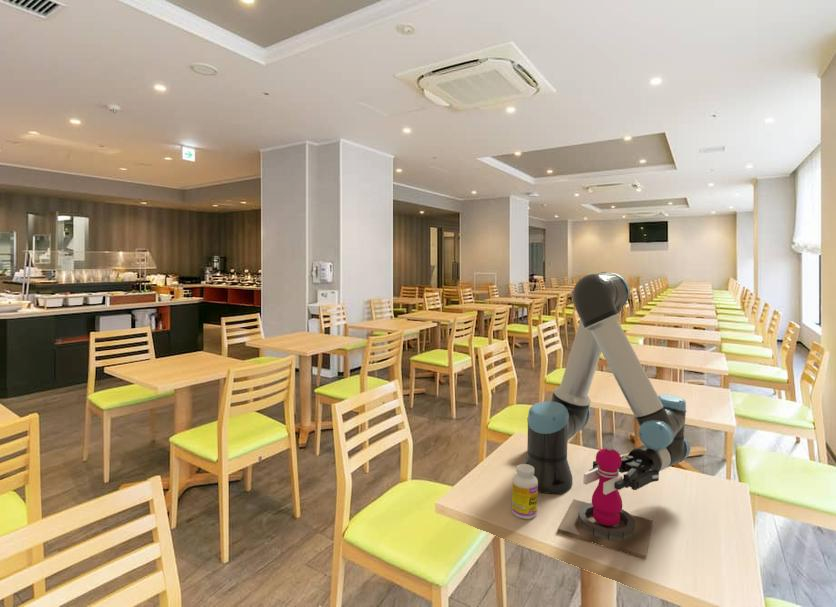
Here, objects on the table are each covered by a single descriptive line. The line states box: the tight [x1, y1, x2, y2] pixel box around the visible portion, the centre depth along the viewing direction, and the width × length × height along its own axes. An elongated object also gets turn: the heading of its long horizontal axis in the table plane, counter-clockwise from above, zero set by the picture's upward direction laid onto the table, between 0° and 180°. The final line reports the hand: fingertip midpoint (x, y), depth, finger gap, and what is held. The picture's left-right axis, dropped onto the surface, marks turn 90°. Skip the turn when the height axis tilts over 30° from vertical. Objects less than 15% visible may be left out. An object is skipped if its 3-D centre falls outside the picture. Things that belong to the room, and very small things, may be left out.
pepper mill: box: [591, 442, 623, 526], centre depth 118 cm, size 7×7×20 cm
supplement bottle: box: [511, 463, 538, 520], centre depth 126 cm, size 7×7×13 cm
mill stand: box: [557, 498, 654, 560], centre depth 119 cm, size 20×16×3 cm
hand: (594, 483), depth 115 cm, fingers closed on pepper mill, 5 cm apart
